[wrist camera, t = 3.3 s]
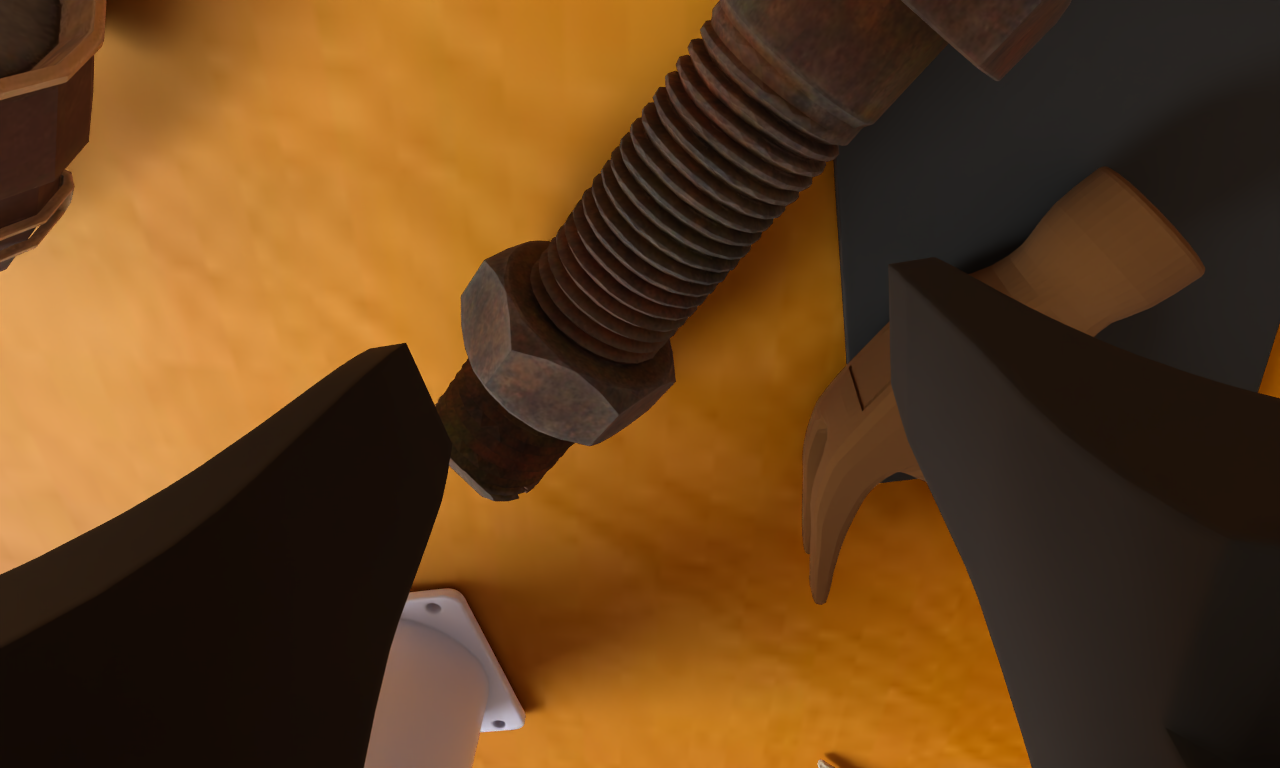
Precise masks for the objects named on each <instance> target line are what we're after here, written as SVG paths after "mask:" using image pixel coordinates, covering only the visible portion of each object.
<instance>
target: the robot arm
mask: <svg viewBox="0 0 1280 768" xmlns="http://www.w3.org/2000/svg"><path fill="white" fill-rule="evenodd" d="M888 277H889V321H890V365H891V386H892V389H893V393H894V396H895V400H896V403H897V407H898V410H899V414H900V417H901V420H902V424H903V427H904V430H905V433H906V437H907V440H908V442H909V444H910V447H911V449H912V451H913V454H914V456H915V458H916V460H917V462H918V465H919V467H920V469H921V471H922V473H923V476H924V478H925V480H926V482H927V484H928V487H929V489H930V491H931V493H932V495H933V497H934V500H935V502H936V504H937V506H938V508H939V510H940V512H941V515H942V517H943V519H944V521H945V523H946V525H947V528H948V530H949V532H950V534H951V536H952V538H953V541H954V543H955V545H956V547H957V549H958V551H959V554H960V556H961V558H962V560H963V562H964V564H965V567H966V569H967V572H968V574H969V577H970V579H971V582H972V584H973V586H974V589H975V591H976V594H977V597H978V599H979V602H980V605H981V608H982V611H983V615H984V618H985V621H986V624H987V627H988V630H989V633H990V636H991V639H992V642H993V645H994V648H995V651H996V654H997V657H998V660H999V663H1000V666H1001V669H1002V672H1003V675H1004V679H1005V682H1006V685H1007V688H1008V691H1009V694H1010V698H1011V701H1012V704H1013V707H1014V710H1015V713H1016V717H1017V720H1018V723H1019V726H1020V729H1021V733H1022V736H1023V739H1024V742H1025V746H1026V749H1027V753H1028V756H1029V759H1030V763H1031V766H1032V768H1280V399H1279V398H1275V397H1272V396H1268V395H1264V394H1260V393H1257V392H1253V391H1249V390H1246V389H1242V388H1238V387H1234V386H1231V385H1227V384H1224V383H1220V382H1217V381H1214V380H1210V379H1207V378H1204V377H1201V376H1197V375H1194V374H1191V373H1188V372H1185V371H1182V370H1179V369H1176V368H1174V367H1171V366H1168V365H1165V364H1162V363H1159V362H1156V361H1154V360H1151V359H1148V358H1145V357H1142V356H1139V355H1136V354H1134V353H1131V352H1129V351H1126V350H1123V349H1121V348H1118V347H1116V346H1113V345H1111V344H1108V343H1106V342H1104V341H1101V340H1099V339H1097V338H1095V337H1092V336H1090V335H1088V334H1085V333H1083V332H1081V331H1079V330H1076V329H1074V328H1072V327H1070V326H1067V325H1065V324H1063V323H1061V322H1059V321H1057V320H1055V319H1052V318H1050V317H1048V316H1046V315H1044V314H1042V313H1040V312H1038V311H1036V310H1034V309H1032V308H1030V307H1028V306H1026V305H1024V304H1022V303H1020V302H1019V301H1017V300H1015V299H1013V298H1011V297H1009V296H1007V295H1005V294H1003V293H1002V292H1000V291H998V290H996V289H994V288H992V287H991V286H989V285H987V284H985V283H983V282H981V281H980V280H978V279H976V278H974V277H972V276H971V275H969V274H967V273H965V272H963V271H961V270H960V269H958V268H956V267H954V266H952V265H950V264H948V263H946V262H944V261H942V260H940V259H938V258H936V257H930V258H924V259H918V260H911V261H905V262H899V263H893V264H888ZM451 450H452V442H451V440H450V438H449V436H448V434H447V431H446V429H445V427H444V425H443V423H442V420H441V418H440V416H439V414H438V412H437V410H436V407H435V405H434V403H433V401H432V399H431V396H430V394H429V392H428V390H427V388H426V385H425V383H424V381H423V379H422V377H421V374H420V372H419V370H418V368H417V366H416V364H415V361H414V359H413V357H412V355H411V353H410V350H409V348H408V346H407V344H406V343H402V344H396V345H390V346H384V347H378V348H371V349H368V350H367V351H365V352H363V353H361V354H359V355H357V356H356V357H354V358H352V359H351V360H349V361H348V362H346V363H345V364H343V365H342V366H340V367H339V368H337V369H336V370H334V371H333V372H332V373H330V374H329V375H327V376H326V377H325V378H323V379H322V380H320V381H319V382H318V383H316V384H315V385H314V386H312V387H311V388H309V389H308V390H307V391H305V392H304V393H303V394H301V395H300V396H299V397H297V398H296V399H295V400H293V401H292V402H290V403H289V404H288V405H286V406H285V407H284V408H282V409H281V410H280V411H278V412H277V413H276V414H274V415H273V416H271V417H270V418H269V419H267V420H266V421H265V422H263V423H262V424H261V425H259V426H258V427H256V428H255V429H253V430H252V431H251V432H249V433H248V434H246V435H245V436H243V437H242V438H240V439H239V440H238V441H236V442H235V443H233V444H232V445H230V446H229V447H227V448H226V449H225V450H223V451H222V452H220V453H219V454H217V455H216V456H215V457H213V458H212V459H210V460H209V461H207V462H206V463H204V464H203V465H201V466H200V467H198V468H197V469H195V470H194V471H192V472H191V473H189V474H188V475H186V476H184V477H183V478H181V479H180V480H178V481H176V482H175V483H173V484H172V485H170V486H168V487H167V488H165V489H163V490H162V491H160V492H158V493H157V494H155V495H153V496H152V497H150V498H148V499H147V500H145V501H143V502H141V503H140V504H138V505H136V506H135V507H133V508H131V509H130V510H128V511H126V512H124V513H122V514H121V515H119V516H117V517H115V518H113V519H111V520H110V521H108V522H106V523H104V524H102V525H100V526H98V527H96V528H94V529H92V530H90V531H88V532H86V533H84V534H82V535H80V536H78V537H77V538H75V539H73V540H71V541H69V542H67V543H65V544H63V545H61V546H59V547H57V548H55V549H53V550H51V551H49V552H47V553H46V554H44V555H42V556H40V557H38V558H36V559H33V560H31V561H29V562H27V563H25V564H23V565H21V566H19V567H16V568H14V569H12V570H10V571H8V572H5V573H3V574H1V575H0V768H472V765H473V761H474V756H475V752H476V748H477V743H478V739H479V735H480V732H488V731H501V730H514V729H519V728H521V727H522V726H523V725H524V723H525V718H526V715H525V712H524V710H523V708H522V706H521V704H520V703H519V701H518V699H517V697H516V695H515V693H514V691H513V689H512V687H511V685H510V683H509V682H508V680H507V678H506V676H505V674H504V672H503V670H502V668H501V666H500V664H499V662H498V661H497V659H496V657H495V655H494V653H493V651H492V649H491V647H490V645H489V643H488V641H487V640H486V638H485V636H484V634H483V632H482V630H481V628H480V626H479V624H478V622H477V620H476V619H475V617H474V615H473V613H472V611H471V609H470V607H469V605H468V603H467V601H466V599H465V598H464V596H463V595H462V594H461V593H460V592H459V591H457V590H455V589H451V588H445V589H435V590H426V591H417V592H410V589H411V587H412V584H413V581H414V578H415V576H416V573H417V570H418V567H419V565H420V562H421V559H422V556H423V553H424V551H425V548H426V545H427V542H428V540H429V537H430V534H431V531H432V528H433V525H434V522H435V519H436V517H437V514H438V511H439V508H440V505H441V502H442V498H443V493H444V489H445V484H446V479H447V474H448V468H449V462H450V456H451Z"/></svg>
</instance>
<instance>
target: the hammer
mask: <svg viewBox="0 0 1280 768" xmlns="http://www.w3.org/2000/svg"><path fill="white" fill-rule="evenodd" d="M1204 272H1205V267H1204V265H1203V263H1202V262H1201V260H1200V258H1199V256H1198V255H1197V253H1196V252H1195V251H1194V250H1193V248H1192V247H1191V246H1190V244H1189V243H1188V242H1187V241H1186V239H1185V238H1184V237H1183V236H1182V235H1181V234H1180V233H1179V231H1178V230H1177V229H1176V228H1175V227H1174V226H1173V225H1172V224H1171V222H1170V221H1169V220H1168V219H1167V218H1166V217H1165V216H1164V215H1163V214H1162V213H1161V212H1160V211H1159V210H1158V209H1157V208H1156V207H1155V206H1154V205H1153V204H1152V203H1151V202H1150V201H1149V200H1148V199H1147V198H1146V197H1145V196H1144V195H1143V194H1142V193H1141V192H1140V191H1139V190H1138V189H1137V188H1135V187H1134V186H1133V185H1132V184H1131V183H1130V182H1129V181H1127V180H1126V179H1125V178H1124V177H1122V176H1121V175H1120V174H1119V173H1117V172H1115V171H1114V170H1112V169H1111V168H1109V167H1100V168H1098V169H1097V170H1096V171H1094V172H1093V173H1092V174H1090V175H1089V176H1088V177H1086V178H1085V179H1084V180H1083V181H1081V182H1080V183H1079V184H1077V185H1076V186H1075V187H1074V188H1072V189H1071V190H1070V191H1069V192H1068V193H1067V194H1065V195H1064V196H1063V197H1062V198H1061V199H1060V200H1059V201H1057V202H1056V203H1055V204H1054V205H1053V206H1052V208H1051V209H1050V210H1049V211H1048V212H1047V213H1046V215H1045V216H1044V217H1043V218H1042V219H1041V221H1040V222H1039V223H1038V225H1037V226H1036V227H1035V229H1034V230H1033V231H1032V233H1031V234H1030V235H1029V237H1028V238H1027V239H1026V240H1025V242H1024V243H1023V244H1022V245H1021V246H1020V247H1018V248H1017V249H1016V250H1015V251H1013V252H1012V253H1011V254H1010V255H1008V256H1007V257H1005V258H1003V259H1001V260H1000V261H998V262H996V263H995V264H993V265H991V266H989V267H986V268H984V269H981V270H979V271H976V272H974V273H971V274H969V275H971V276H972V277H974V278H976V279H978V280H980V281H981V282H983V283H985V284H987V285H989V286H991V287H992V288H994V289H996V290H998V291H1000V292H1002V293H1003V294H1005V295H1007V296H1009V297H1011V298H1013V299H1015V300H1017V301H1019V302H1020V303H1022V304H1024V305H1026V306H1028V307H1030V308H1032V309H1034V310H1036V311H1038V312H1040V313H1042V314H1044V315H1046V316H1048V317H1050V318H1052V319H1055V320H1057V321H1059V322H1061V323H1063V324H1065V325H1067V326H1070V327H1072V328H1074V329H1076V330H1079V331H1081V332H1083V333H1085V334H1088V335H1090V336H1092V337H1095V336H1096V335H1097V334H1098V333H1099V332H1100V331H1102V330H1103V329H1104V328H1106V327H1107V326H1108V325H1110V324H1111V323H1113V322H1115V321H1118V320H1121V319H1124V318H1126V317H1129V316H1132V315H1134V314H1136V313H1139V312H1141V311H1144V310H1146V309H1149V308H1151V307H1153V306H1155V305H1157V304H1158V303H1160V302H1162V301H1164V300H1165V299H1167V298H1169V297H1171V296H1172V295H1174V294H1176V293H1177V292H1179V291H1180V290H1182V289H1183V288H1185V287H1186V286H1188V285H1189V284H1191V283H1192V282H1194V281H1195V280H1197V279H1199V278H1200V277H1201V276H1202V275H1203V274H1204ZM896 472H902V473H906V474H908V475H911V476H913V477H916V478H918V479H920V480H923V481H925V482H926V480H925V478H924V476H923V473H922V471H921V469H920V467H919V465H918V462H917V460H916V458H915V456H914V454H913V451H912V449H911V447H910V444H909V442H908V440H907V437H906V433H905V430H904V427H903V424H902V420H901V417H900V414H899V410H898V407H897V403H896V400H895V396H894V393H893V389H892V386H891V365H890V321H889V322H888V323H887V324H886V325H885V326H884V327H883V328H882V329H881V330H880V331H879V332H878V333H877V334H876V335H875V336H874V337H873V338H872V340H871V341H870V342H869V343H868V344H867V345H866V346H865V347H864V348H863V349H862V350H861V351H860V352H859V353H858V354H857V355H856V356H855V357H854V358H853V359H852V360H851V361H850V362H849V363H848V364H847V365H846V366H845V367H844V369H843V370H842V371H841V372H840V373H839V374H838V375H837V376H836V378H835V379H834V380H833V381H832V382H831V384H830V385H829V386H828V387H827V389H826V390H825V391H824V392H823V394H822V395H821V396H820V398H819V399H818V401H817V403H816V405H815V407H814V410H813V412H812V415H811V418H810V421H809V424H808V427H807V431H806V435H805V440H804V446H803V494H802V536H803V545H804V550H805V552H806V553H807V554H810V575H809V580H810V587H811V592H812V596H813V599H814V601H815V603H816V604H820V605H822V604H824V603H826V600H827V598H828V594H829V591H830V587H831V582H832V577H833V572H834V569H835V565H836V562H837V558H838V555H839V552H840V549H841V546H842V544H843V541H844V538H845V536H846V533H847V531H848V529H849V527H850V525H851V523H852V520H853V519H854V517H855V515H856V513H857V511H858V509H859V507H860V505H861V504H862V502H863V500H864V499H865V497H866V496H867V494H868V493H869V492H870V491H871V490H872V489H873V488H874V487H875V486H876V485H878V484H879V483H880V482H882V481H883V480H884V479H886V478H887V477H889V476H891V475H892V474H894V473H896Z"/></svg>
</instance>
